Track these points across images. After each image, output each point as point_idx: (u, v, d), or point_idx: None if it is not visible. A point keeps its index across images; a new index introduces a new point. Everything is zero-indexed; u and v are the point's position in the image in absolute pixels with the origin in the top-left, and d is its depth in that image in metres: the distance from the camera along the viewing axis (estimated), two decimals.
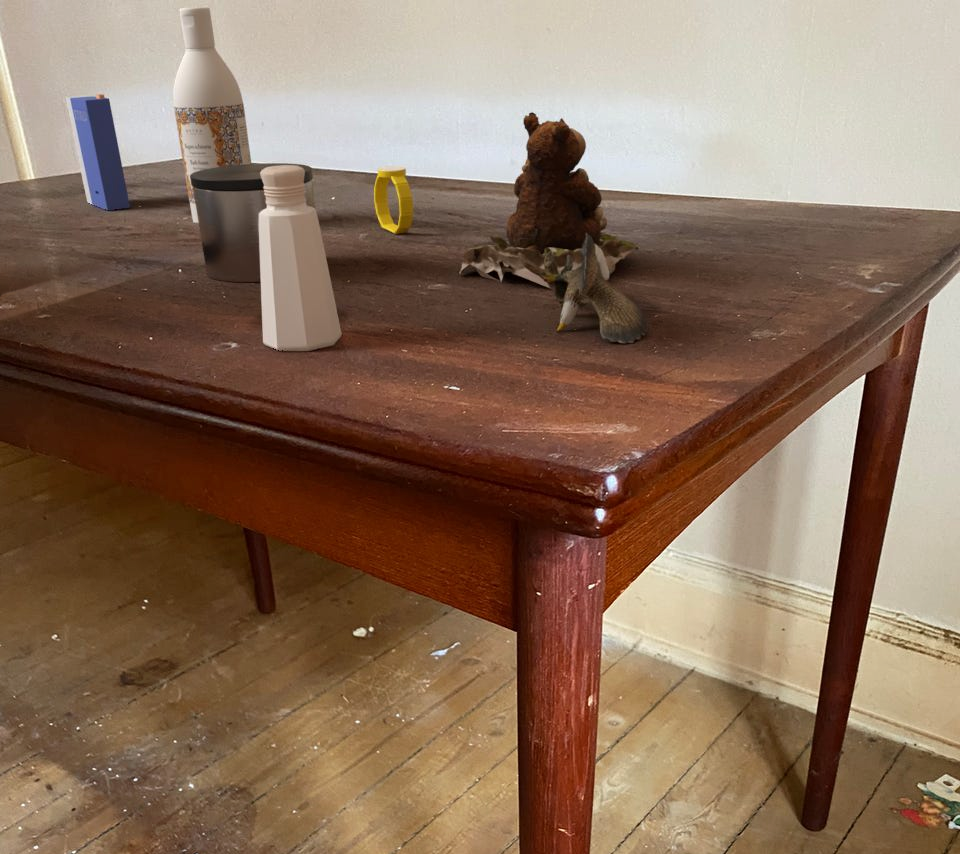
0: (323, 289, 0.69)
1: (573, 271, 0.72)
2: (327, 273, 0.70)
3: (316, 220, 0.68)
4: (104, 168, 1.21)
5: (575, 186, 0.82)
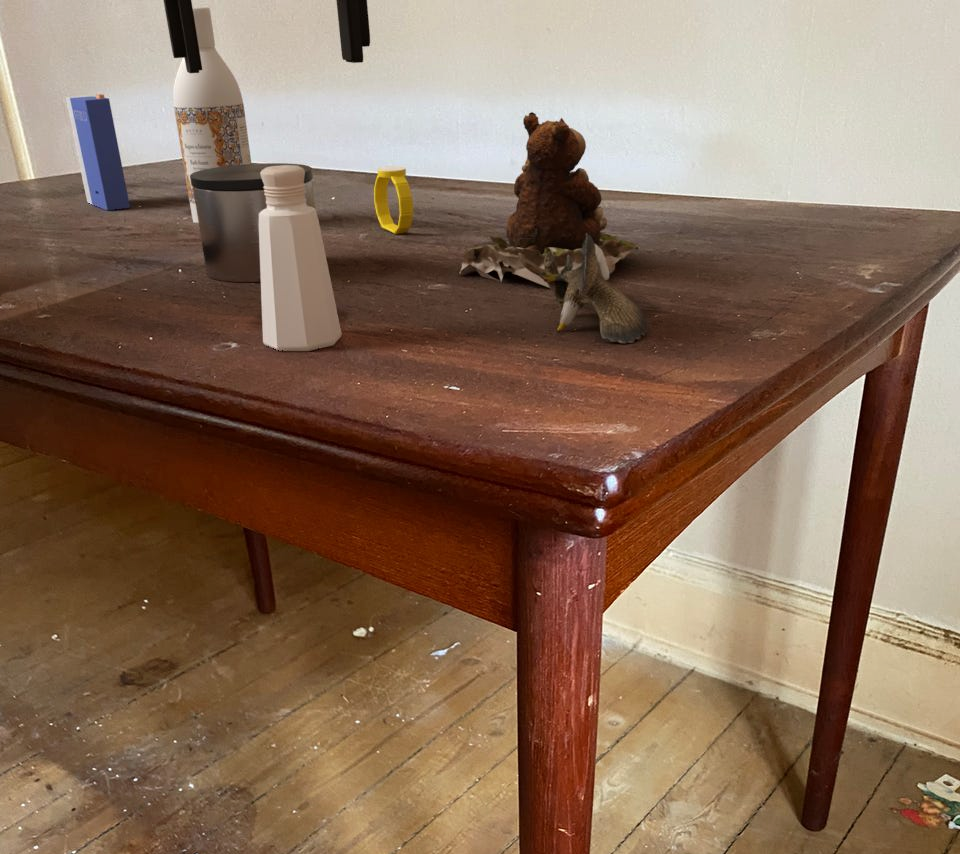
0: (323, 289, 0.69)
1: (573, 271, 0.72)
2: (327, 273, 0.70)
3: (316, 220, 0.68)
4: (104, 168, 1.21)
5: (575, 186, 0.82)
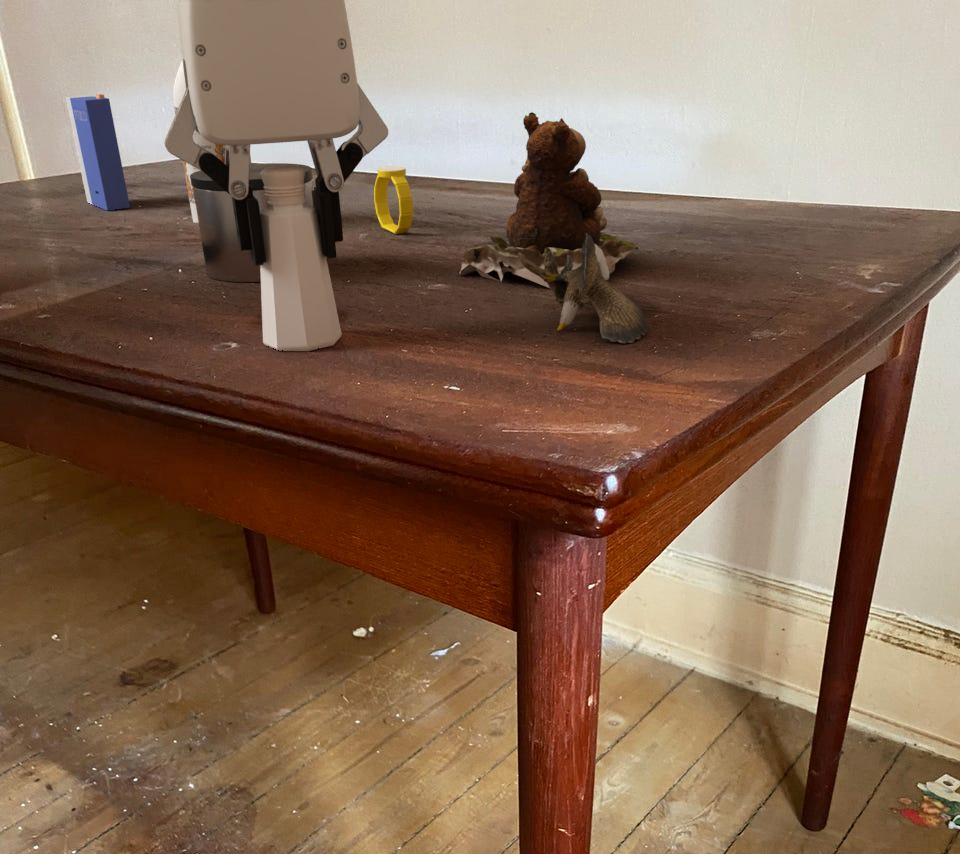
0: (323, 289, 0.69)
1: (573, 271, 0.72)
2: (327, 273, 0.70)
3: (316, 220, 0.68)
4: (104, 168, 1.21)
5: (575, 186, 0.82)
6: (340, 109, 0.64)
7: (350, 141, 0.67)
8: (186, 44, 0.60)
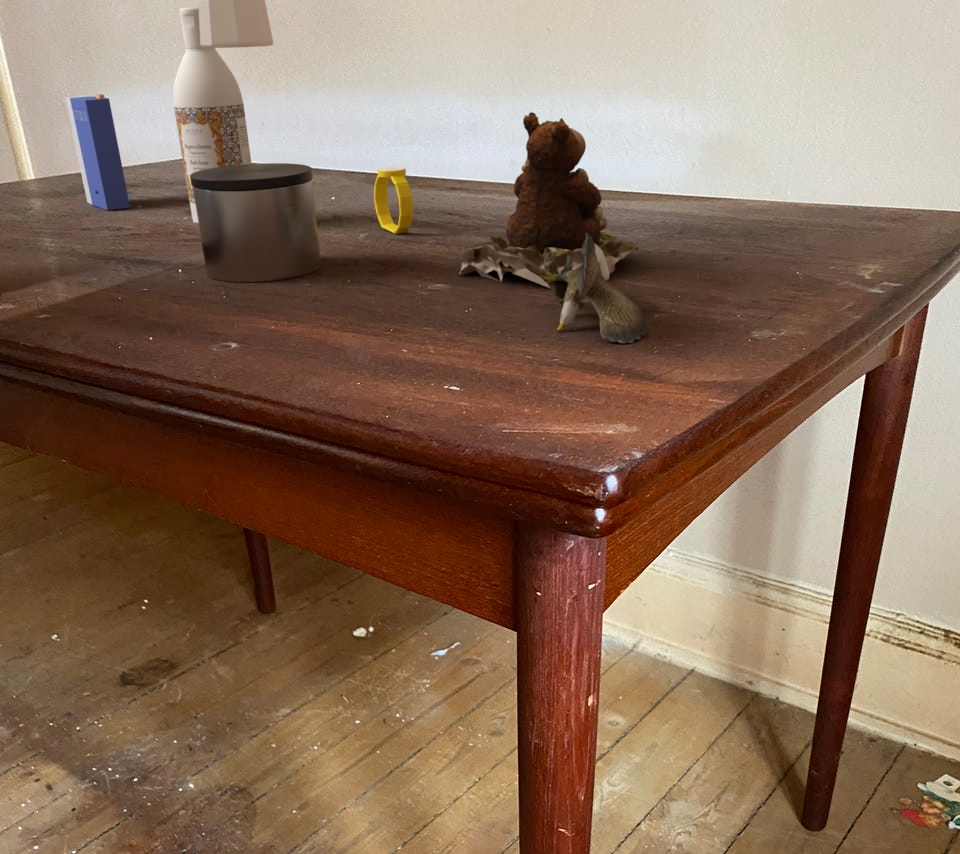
0: None
1: (573, 271, 0.72)
2: None
3: None
4: (104, 168, 1.21)
5: (574, 186, 0.82)
6: None
7: None
8: None
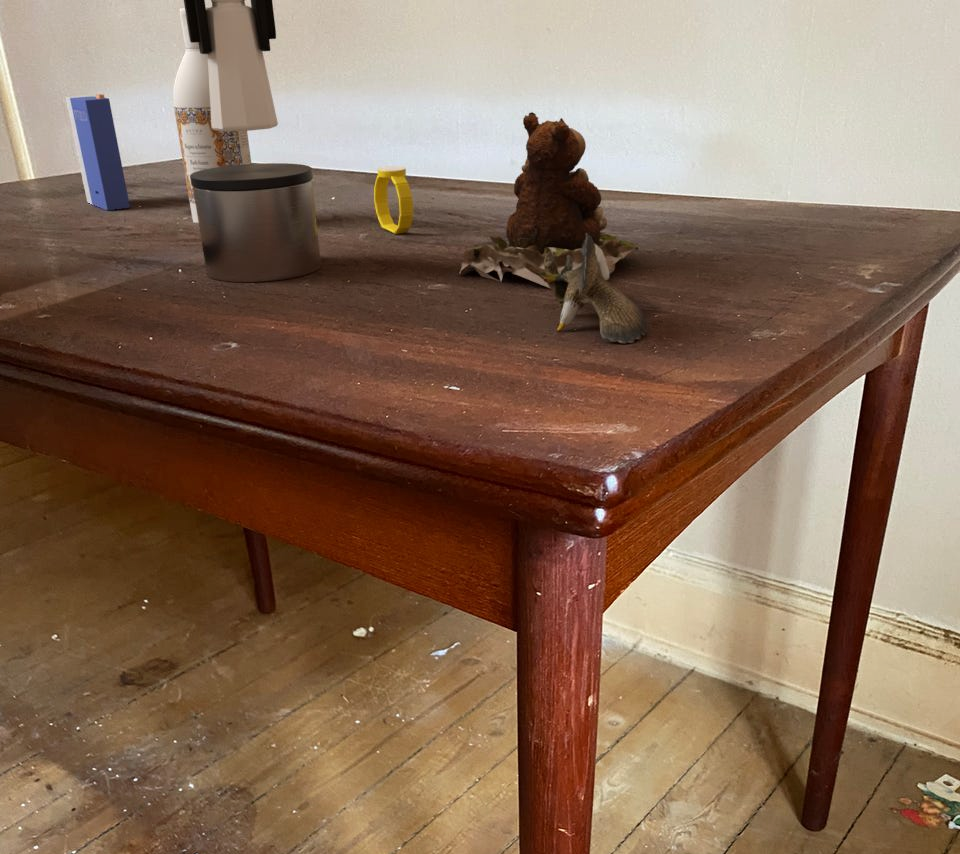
0: (260, 77, 0.84)
1: (573, 271, 0.72)
2: (264, 66, 0.84)
3: (253, 17, 0.83)
4: (104, 168, 1.21)
5: (574, 186, 0.82)
6: None
7: None
8: None
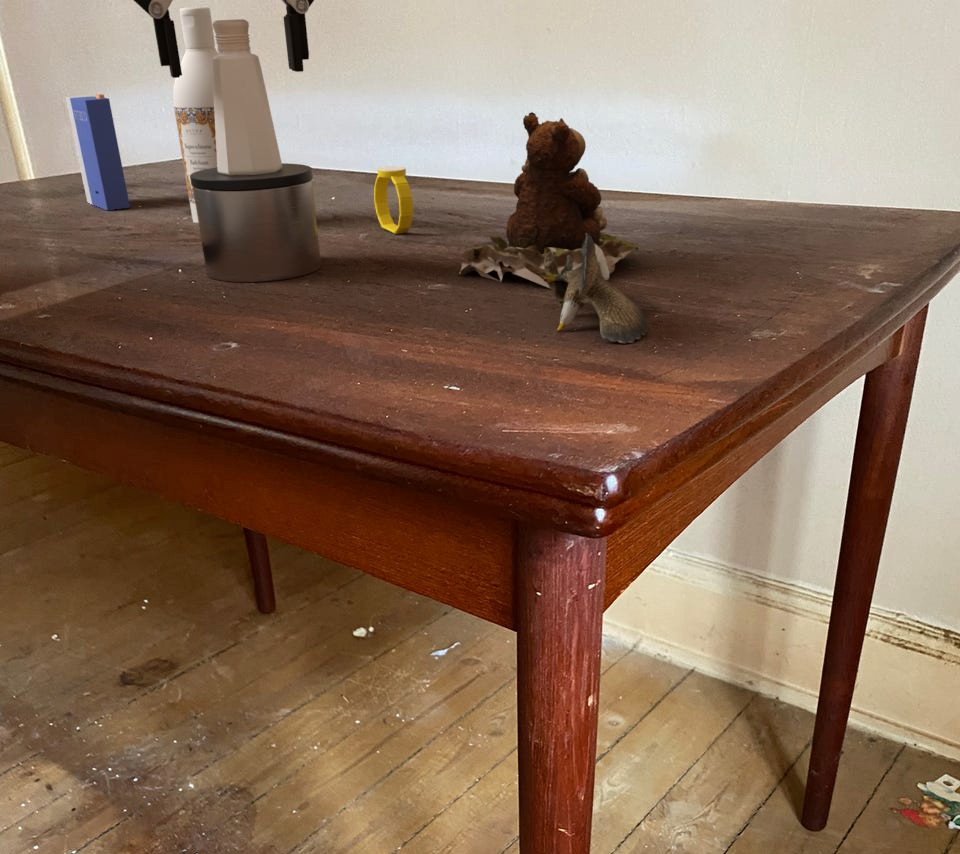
0: (265, 123, 0.85)
1: (573, 271, 0.72)
2: (269, 112, 0.86)
3: (258, 65, 0.84)
4: (104, 168, 1.21)
5: (574, 186, 0.82)
6: None
7: None
8: None
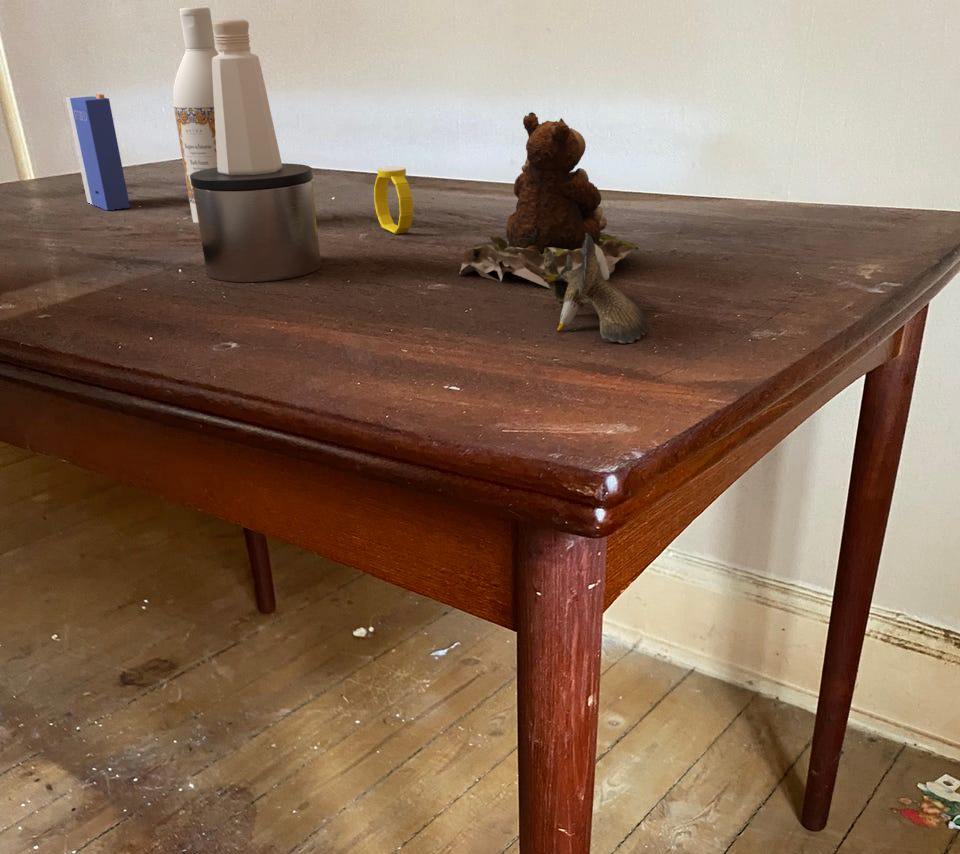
0: (265, 123, 0.85)
1: (573, 271, 0.72)
2: (269, 112, 0.86)
3: (258, 65, 0.84)
4: (104, 168, 1.21)
5: (574, 186, 0.82)
6: None
7: None
8: None
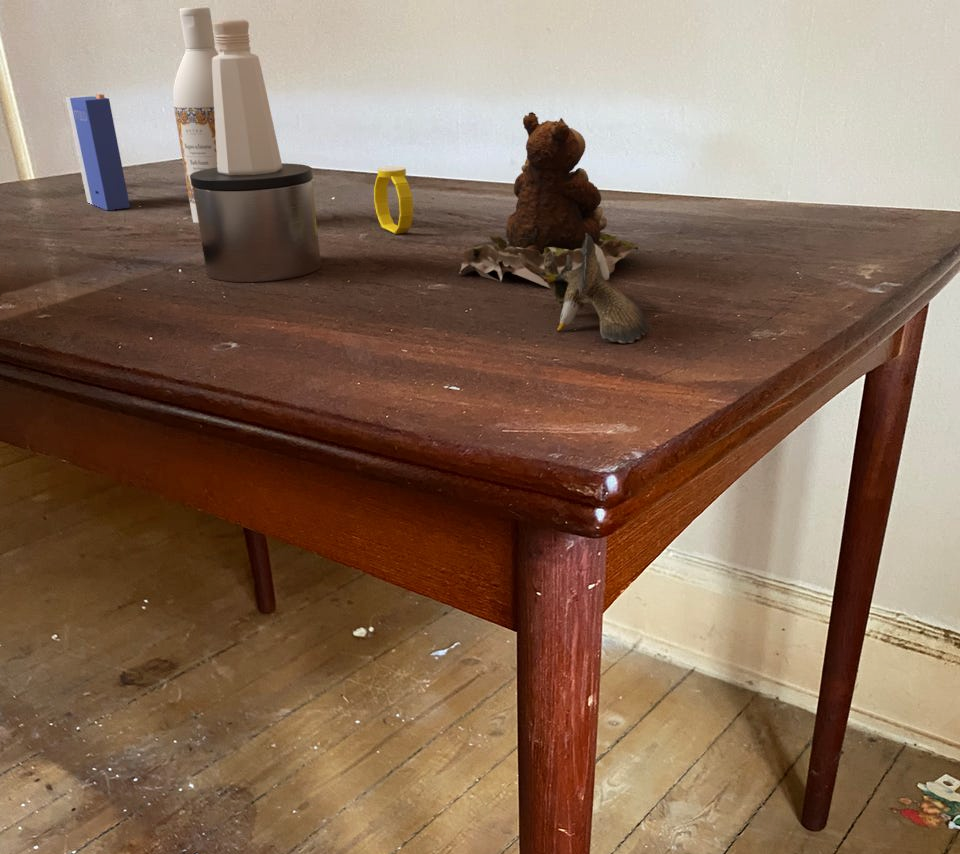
0: (265, 123, 0.85)
1: (573, 271, 0.72)
2: (269, 112, 0.86)
3: (258, 65, 0.84)
4: (104, 168, 1.21)
5: (574, 185, 0.82)
6: None
7: None
8: None
